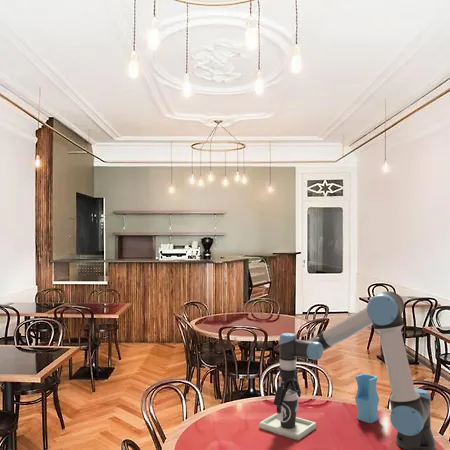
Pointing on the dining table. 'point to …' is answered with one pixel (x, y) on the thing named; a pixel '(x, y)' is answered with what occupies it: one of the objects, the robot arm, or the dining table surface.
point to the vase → (367, 398)
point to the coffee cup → (289, 410)
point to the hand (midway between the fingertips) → (287, 415)
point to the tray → (295, 433)
